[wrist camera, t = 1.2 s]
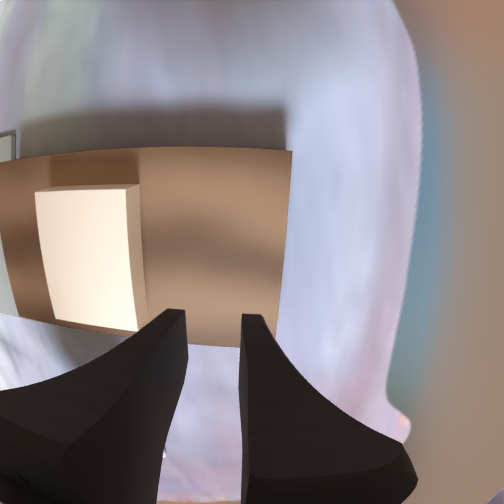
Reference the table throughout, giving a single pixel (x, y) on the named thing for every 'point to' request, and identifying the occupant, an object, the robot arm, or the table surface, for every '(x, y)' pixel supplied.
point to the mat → (3, 297)
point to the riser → (168, 231)
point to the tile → (93, 254)
